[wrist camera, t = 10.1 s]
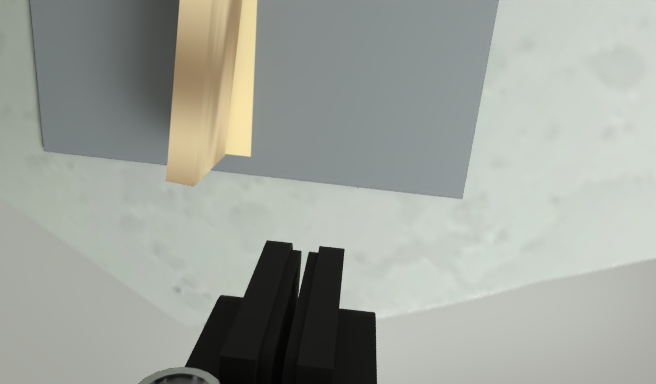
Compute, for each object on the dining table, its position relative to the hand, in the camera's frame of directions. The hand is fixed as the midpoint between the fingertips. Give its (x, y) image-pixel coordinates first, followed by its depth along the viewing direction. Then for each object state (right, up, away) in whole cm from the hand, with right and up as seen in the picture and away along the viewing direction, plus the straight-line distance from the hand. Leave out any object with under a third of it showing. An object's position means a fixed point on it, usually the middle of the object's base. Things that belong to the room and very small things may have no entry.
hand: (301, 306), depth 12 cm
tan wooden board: (-4, +10, +14) cm, 18 cm away
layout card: (-3, +10, +14) cm, 18 cm away
